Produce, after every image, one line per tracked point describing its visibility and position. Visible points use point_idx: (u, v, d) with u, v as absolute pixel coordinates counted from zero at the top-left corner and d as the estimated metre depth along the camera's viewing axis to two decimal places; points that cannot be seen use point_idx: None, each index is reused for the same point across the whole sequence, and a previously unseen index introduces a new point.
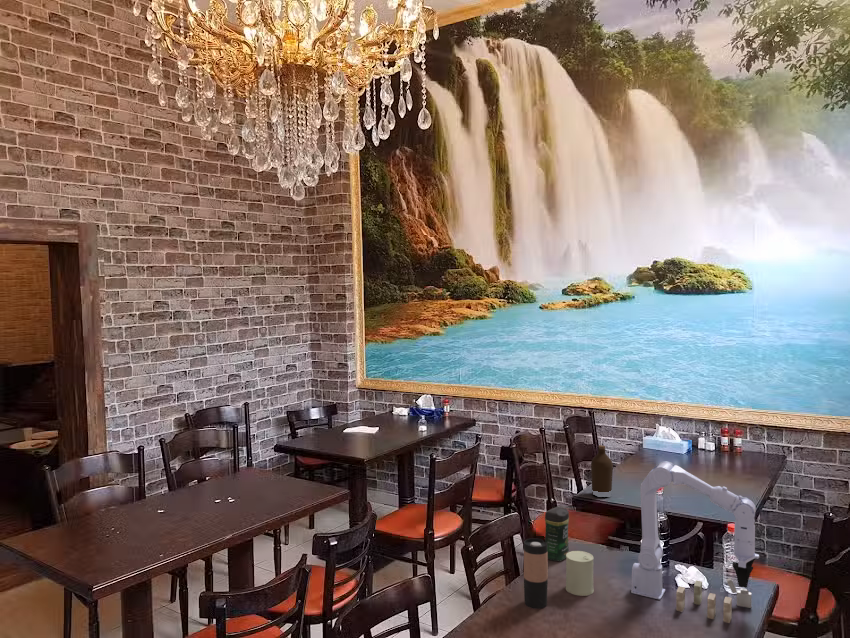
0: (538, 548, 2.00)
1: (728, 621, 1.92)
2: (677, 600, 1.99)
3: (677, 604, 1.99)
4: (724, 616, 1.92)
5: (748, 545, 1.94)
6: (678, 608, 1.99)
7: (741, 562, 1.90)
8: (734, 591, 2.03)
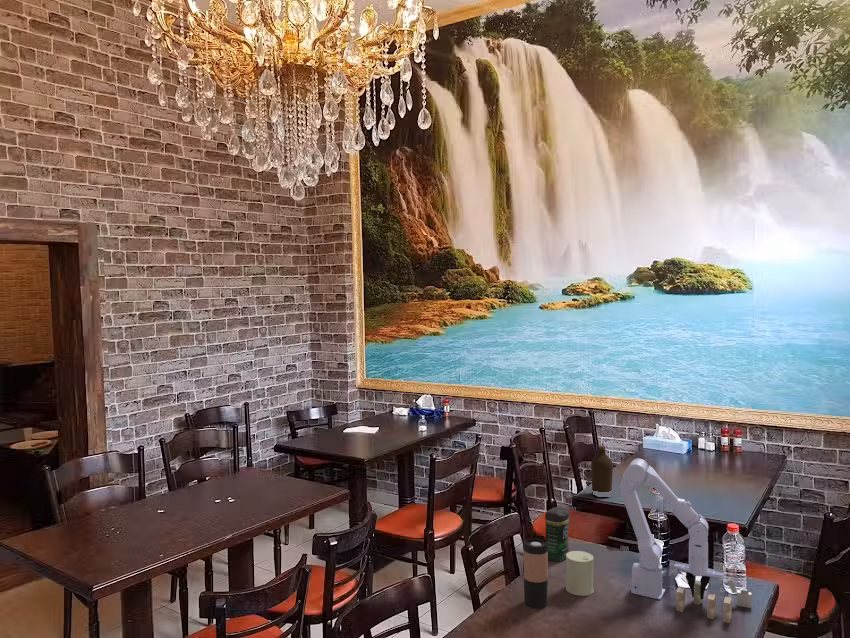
0: (538, 548, 2.00)
1: (728, 621, 1.92)
2: (677, 600, 1.99)
3: (677, 604, 1.99)
4: (724, 616, 1.92)
5: (689, 558, 2.05)
6: (678, 608, 1.99)
7: None
8: (734, 591, 2.03)
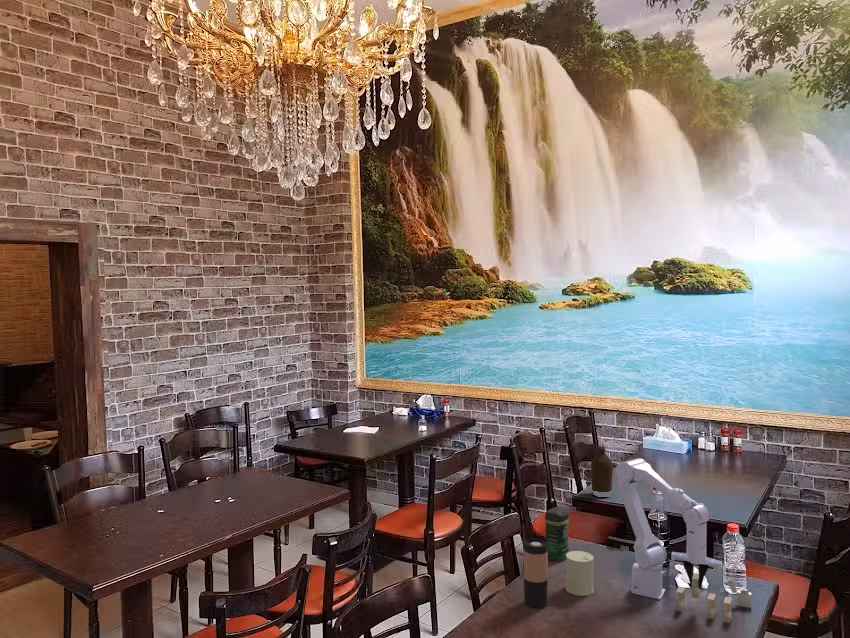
0: (538, 548, 2.00)
1: (728, 621, 1.92)
2: (677, 600, 1.99)
3: (677, 604, 1.99)
4: (724, 616, 1.92)
5: (687, 546, 1.98)
6: (678, 608, 1.99)
7: None
8: (734, 591, 2.03)
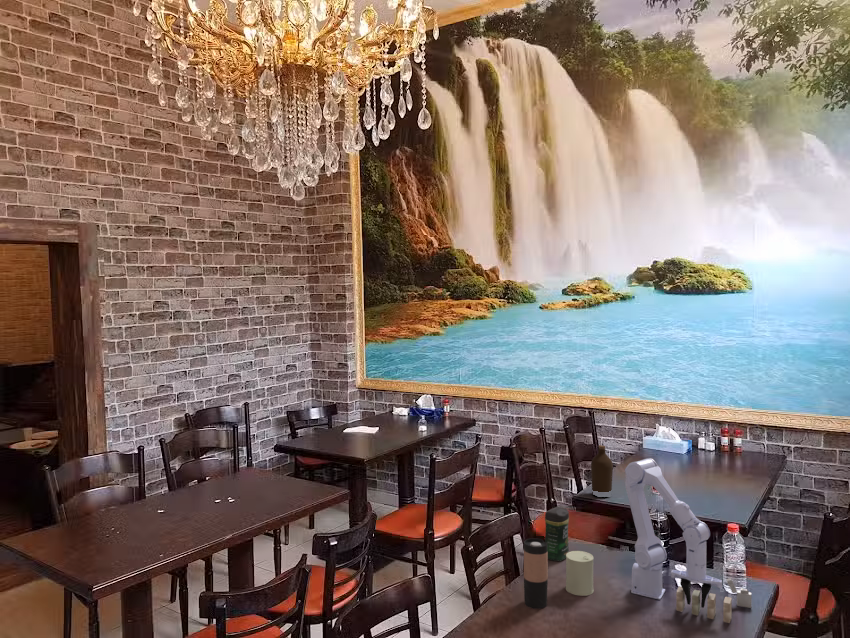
0: (538, 548, 2.00)
1: (728, 621, 1.92)
2: (677, 600, 1.99)
3: (677, 604, 1.99)
4: (724, 616, 1.92)
5: (686, 564, 1.98)
6: (678, 608, 1.99)
7: None
8: (734, 591, 2.03)
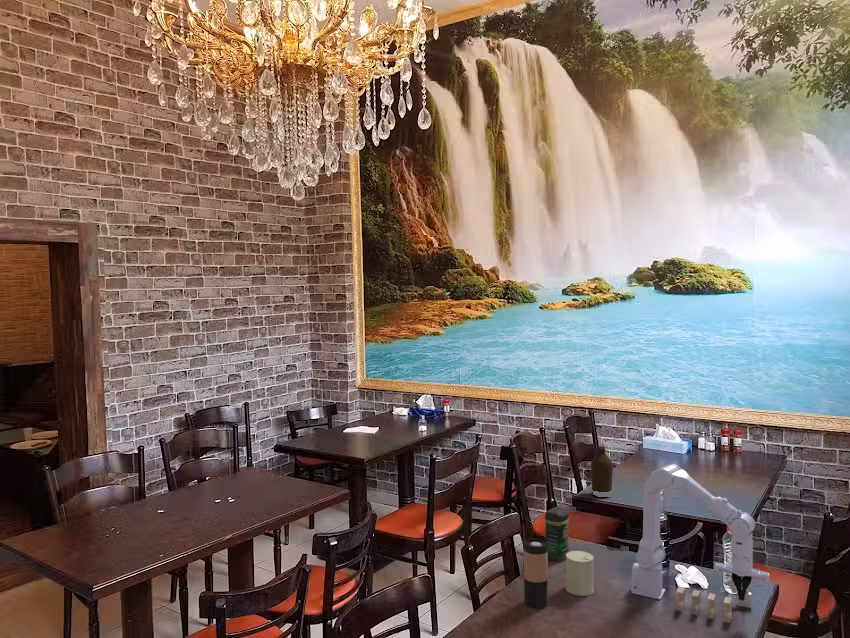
0: (538, 548, 2.00)
1: (728, 621, 1.92)
2: (677, 600, 1.99)
3: (677, 604, 1.99)
4: (724, 616, 1.92)
5: (732, 557, 1.92)
6: (678, 608, 1.99)
7: (715, 565, 1.95)
8: (734, 591, 2.03)
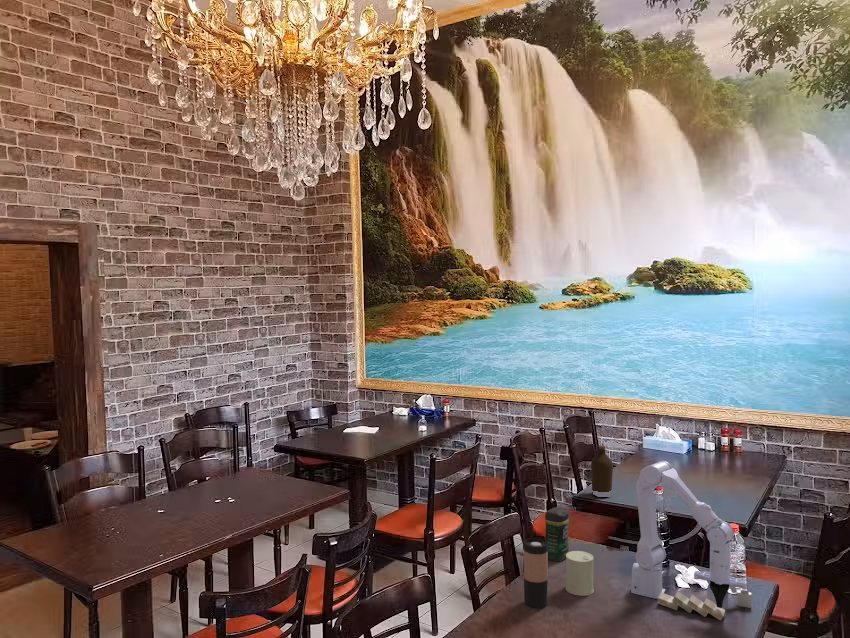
0: (538, 548, 2.00)
1: (721, 615, 1.93)
2: (666, 605, 2.01)
3: (670, 607, 2.01)
4: (715, 616, 1.94)
5: (710, 565, 1.95)
6: (674, 607, 2.00)
7: None
8: (734, 591, 2.03)
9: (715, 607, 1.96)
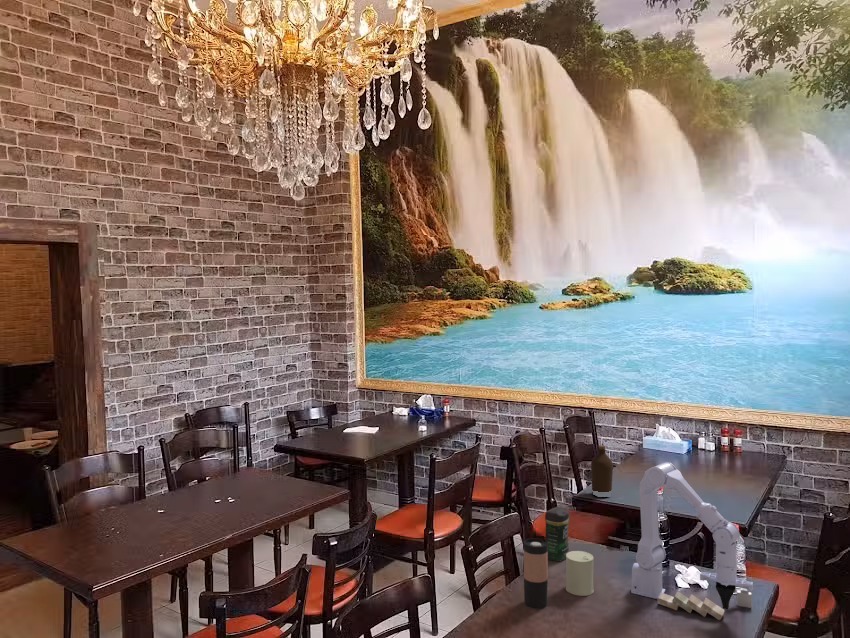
0: (538, 548, 2.00)
1: (720, 615, 1.93)
2: (666, 605, 2.01)
3: (670, 607, 2.01)
4: (714, 616, 1.94)
5: (716, 566, 1.94)
6: (674, 607, 2.00)
7: None
8: (734, 591, 2.03)
9: (714, 607, 1.96)
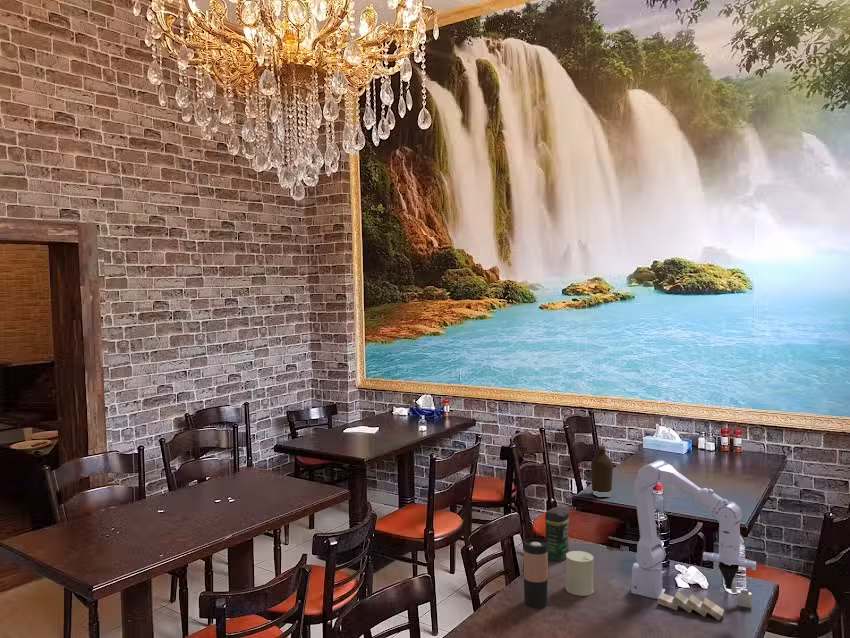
0: (538, 548, 2.00)
1: (719, 615, 1.93)
2: (666, 605, 2.01)
3: (670, 607, 2.01)
4: (714, 616, 1.94)
5: (719, 546, 1.93)
6: (674, 607, 2.00)
7: None
8: (734, 591, 2.03)
9: (714, 606, 1.96)
